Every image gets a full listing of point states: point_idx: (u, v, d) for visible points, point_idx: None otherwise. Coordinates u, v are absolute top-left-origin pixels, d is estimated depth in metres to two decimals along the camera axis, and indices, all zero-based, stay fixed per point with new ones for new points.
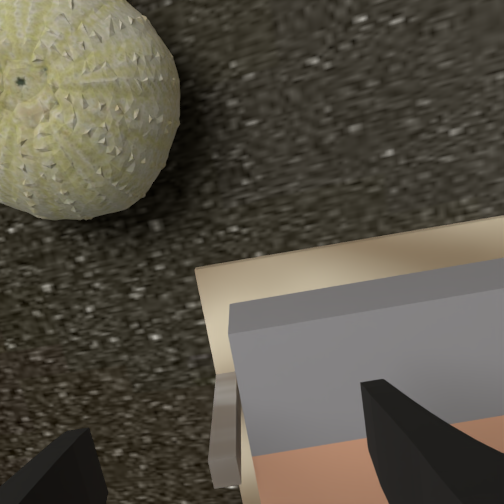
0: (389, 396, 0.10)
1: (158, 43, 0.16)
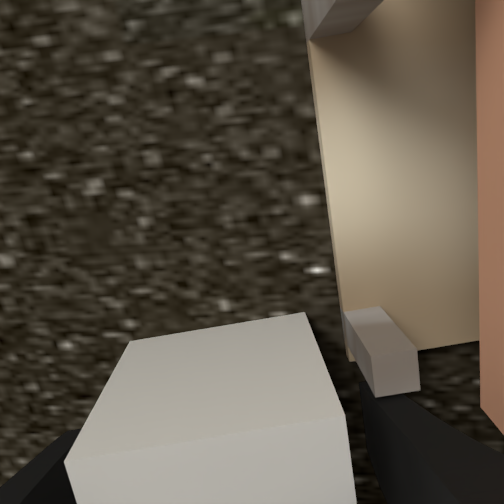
0: (388, 396, 0.10)
1: None
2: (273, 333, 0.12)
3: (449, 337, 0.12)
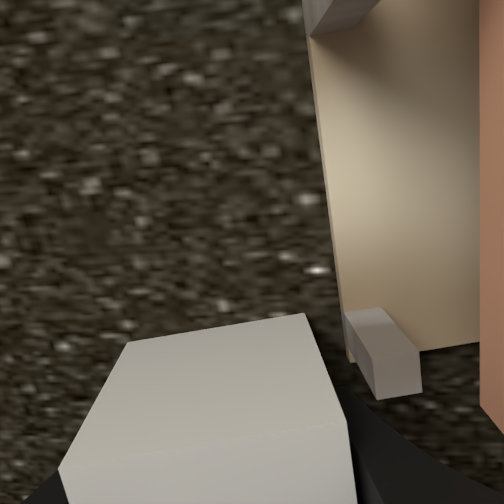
0: (345, 403, 0.10)
1: None
2: (273, 335, 0.11)
3: (451, 338, 0.12)
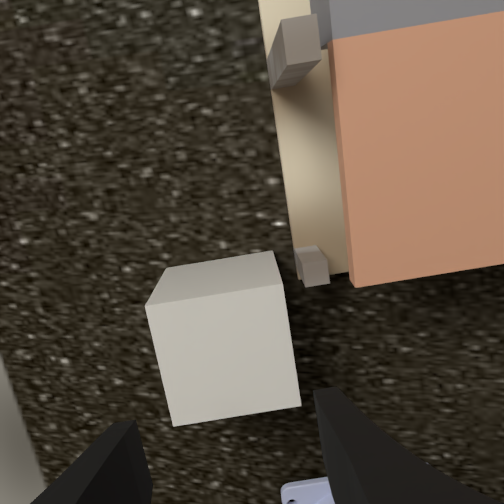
0: (336, 405, 0.10)
1: None
2: (252, 260, 0.20)
3: None
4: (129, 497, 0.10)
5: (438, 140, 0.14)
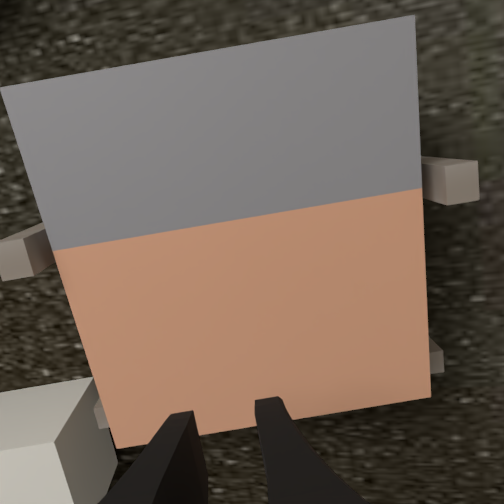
0: (270, 416, 0.10)
1: None
2: (66, 391, 0.21)
3: None
4: (193, 486, 0.10)
5: (169, 329, 0.15)
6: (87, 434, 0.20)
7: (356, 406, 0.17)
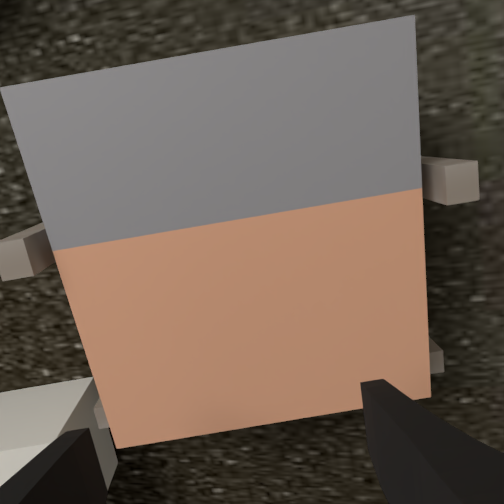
0: (389, 396, 0.10)
1: None
2: (66, 392, 0.21)
3: None
4: None
5: (169, 329, 0.15)
6: None
7: (356, 406, 0.17)
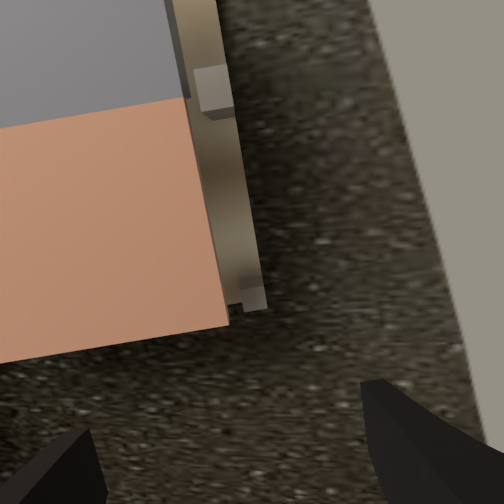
0: (389, 396, 0.10)
1: None
2: None
3: None
4: None
5: None
6: None
7: (152, 335, 0.16)
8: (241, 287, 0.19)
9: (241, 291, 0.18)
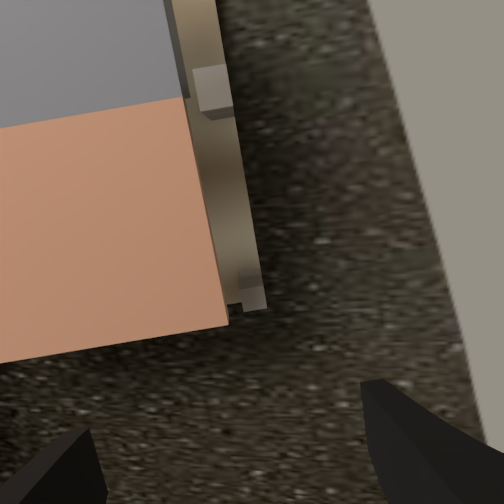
0: (389, 396, 0.10)
1: None
2: None
3: None
4: None
5: None
6: None
7: (151, 335, 0.16)
8: (241, 287, 0.19)
9: (241, 291, 0.18)
